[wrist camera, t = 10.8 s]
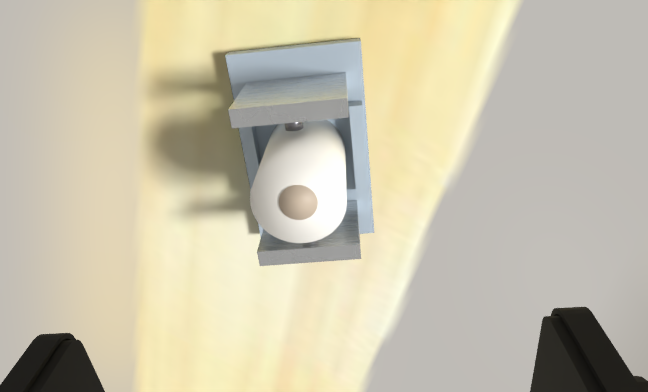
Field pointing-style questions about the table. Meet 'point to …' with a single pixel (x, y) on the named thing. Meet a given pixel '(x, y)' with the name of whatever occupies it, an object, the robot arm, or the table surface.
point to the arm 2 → (315, 244)
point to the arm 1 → (291, 101)
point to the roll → (301, 183)
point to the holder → (352, 129)
